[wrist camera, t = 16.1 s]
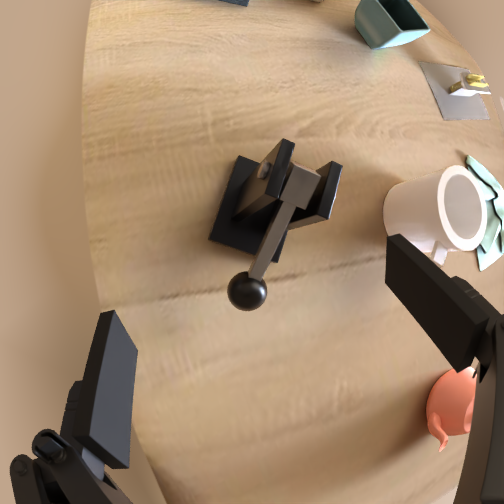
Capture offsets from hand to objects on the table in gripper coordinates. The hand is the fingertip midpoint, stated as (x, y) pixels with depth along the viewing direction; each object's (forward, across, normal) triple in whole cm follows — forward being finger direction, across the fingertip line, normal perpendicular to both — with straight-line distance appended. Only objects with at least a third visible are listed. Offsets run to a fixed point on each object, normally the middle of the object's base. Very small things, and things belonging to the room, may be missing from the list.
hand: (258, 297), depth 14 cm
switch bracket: (+22, +3, -5) cm, 23 cm away
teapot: (+8, +27, -40) cm, 49 cm away
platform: (+37, +48, +4) cm, 61 cm away
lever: (+13, +3, -4) cm, 13 cm away
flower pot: (+39, +30, +14) cm, 51 cm away
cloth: (+25, +44, -16) cm, 53 cm away
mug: (+23, +24, -13) cm, 35 cm away
